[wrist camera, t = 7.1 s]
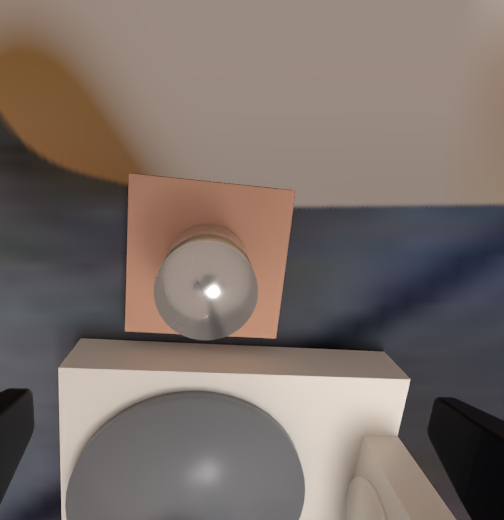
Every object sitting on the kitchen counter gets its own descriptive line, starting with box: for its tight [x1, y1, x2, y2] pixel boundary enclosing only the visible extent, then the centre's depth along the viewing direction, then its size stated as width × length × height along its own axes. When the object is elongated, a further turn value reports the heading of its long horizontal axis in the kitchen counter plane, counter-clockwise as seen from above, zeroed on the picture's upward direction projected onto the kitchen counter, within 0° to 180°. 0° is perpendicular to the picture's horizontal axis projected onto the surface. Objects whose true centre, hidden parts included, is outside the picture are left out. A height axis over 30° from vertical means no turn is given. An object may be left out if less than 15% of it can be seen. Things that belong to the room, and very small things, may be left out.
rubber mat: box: [125, 173, 295, 339], centre depth 19 cm, size 8×8×1 cm
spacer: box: [154, 224, 258, 340], centre depth 16 cm, size 4×4×4 cm
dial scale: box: [58, 338, 456, 520], centre depth 18 cm, size 14×18×8 cm
